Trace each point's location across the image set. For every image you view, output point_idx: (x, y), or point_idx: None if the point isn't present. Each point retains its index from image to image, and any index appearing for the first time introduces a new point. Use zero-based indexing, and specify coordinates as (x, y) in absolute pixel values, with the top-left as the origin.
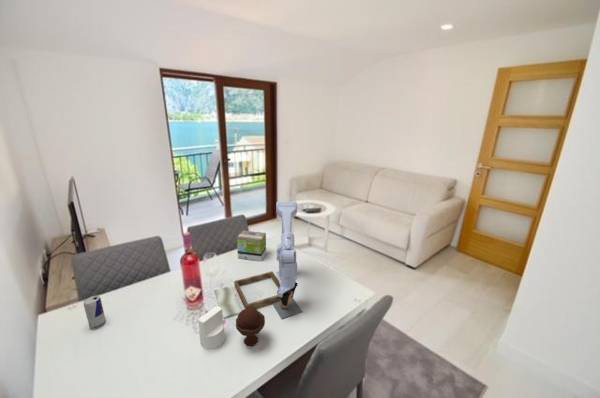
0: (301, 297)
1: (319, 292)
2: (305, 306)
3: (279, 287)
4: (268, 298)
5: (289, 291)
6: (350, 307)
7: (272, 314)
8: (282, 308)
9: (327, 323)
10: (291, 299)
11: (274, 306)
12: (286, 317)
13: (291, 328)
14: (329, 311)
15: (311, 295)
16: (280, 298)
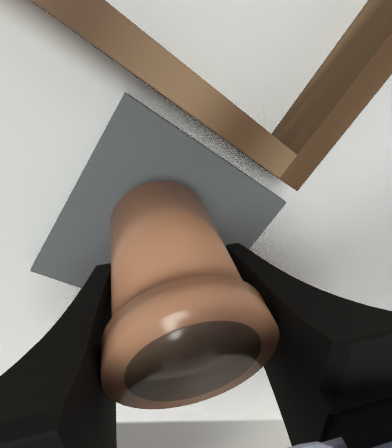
0: (314, 240)
1: (385, 293)
2: None
3: (385, 6)
4: (101, 22)
5: (225, 368)
6: None
7: (16, 170)
8: None
9: (180, 418)
10: (262, 207)
11: (103, 133)
12: (73, 280)
13: (19, 348)
14: (258, 388)
15: (350, 275)
16: (50, 332)
